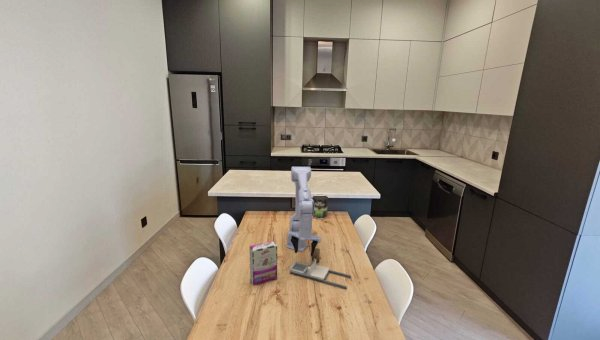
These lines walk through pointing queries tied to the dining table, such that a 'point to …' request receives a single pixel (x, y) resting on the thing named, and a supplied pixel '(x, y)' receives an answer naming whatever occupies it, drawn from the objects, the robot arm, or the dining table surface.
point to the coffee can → (320, 207)
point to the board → (301, 271)
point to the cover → (317, 271)
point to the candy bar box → (263, 262)
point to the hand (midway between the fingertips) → (304, 253)
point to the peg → (316, 255)
